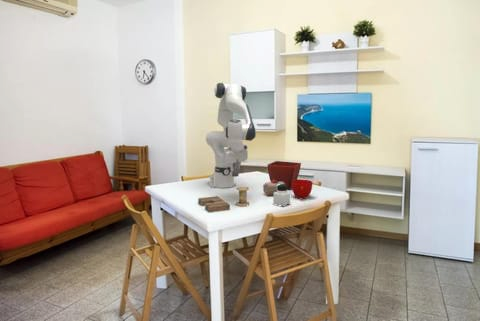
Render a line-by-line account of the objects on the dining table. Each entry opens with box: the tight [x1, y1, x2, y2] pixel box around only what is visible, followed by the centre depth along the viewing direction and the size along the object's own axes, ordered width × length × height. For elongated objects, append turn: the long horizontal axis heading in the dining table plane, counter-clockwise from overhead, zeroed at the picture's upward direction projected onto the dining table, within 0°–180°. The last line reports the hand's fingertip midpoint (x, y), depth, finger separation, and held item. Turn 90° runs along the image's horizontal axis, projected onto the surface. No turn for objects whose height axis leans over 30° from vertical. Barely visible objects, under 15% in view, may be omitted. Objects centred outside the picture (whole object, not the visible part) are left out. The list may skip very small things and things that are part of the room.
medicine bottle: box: [272, 184, 291, 207], centre depth 214 cm, size 7×7×12 cm
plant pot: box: [267, 160, 302, 191], centre depth 258 cm, size 19×19×17 cm
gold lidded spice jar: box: [231, 159, 239, 178], centre depth 219 cm, size 4×4×11 cm
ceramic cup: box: [291, 179, 313, 199], centre depth 229 cm, size 13×17×10 cm
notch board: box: [197, 195, 231, 213], centre depth 210 cm, size 20×12×3 cm, turn 24°
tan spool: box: [235, 185, 250, 207], centre depth 214 cm, size 8×8×10 cm
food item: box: [262, 179, 285, 197], centre depth 237 cm, size 14×8×10 cm, turn 102°
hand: (235, 170), depth 220 cm, fingers closed on gold lidded spice jar, 4 cm apart
